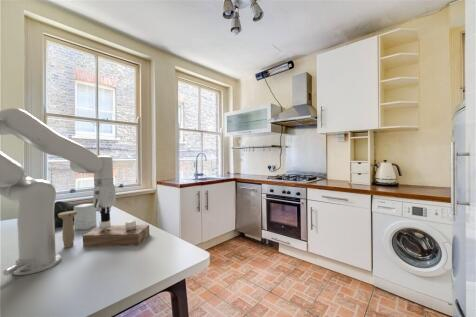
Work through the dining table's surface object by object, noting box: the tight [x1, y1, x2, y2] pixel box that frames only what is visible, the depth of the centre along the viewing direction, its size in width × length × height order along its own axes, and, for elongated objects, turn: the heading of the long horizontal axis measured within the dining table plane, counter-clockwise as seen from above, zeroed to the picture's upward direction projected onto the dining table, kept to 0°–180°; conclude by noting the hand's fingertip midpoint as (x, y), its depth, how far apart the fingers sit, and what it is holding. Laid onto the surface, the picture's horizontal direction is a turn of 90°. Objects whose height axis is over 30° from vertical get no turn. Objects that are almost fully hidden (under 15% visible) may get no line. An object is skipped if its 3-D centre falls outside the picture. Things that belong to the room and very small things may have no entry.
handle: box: [58, 211, 77, 248], centre depth 90 cm, size 5×6×15 cm
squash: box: [54, 200, 76, 228], centre depth 119 cm, size 14×15×15 cm
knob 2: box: [124, 219, 137, 231], centre depth 95 cm, size 4×4×8 cm
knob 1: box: [98, 219, 112, 231], centre depth 95 cm, size 4×4×8 cm
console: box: [82, 224, 150, 248], centre depth 95 cm, size 12×24×5 cm, turn 91°
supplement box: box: [73, 203, 98, 231], centre depth 114 cm, size 7×7×13 cm
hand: (105, 220), depth 95 cm, fingers closed
